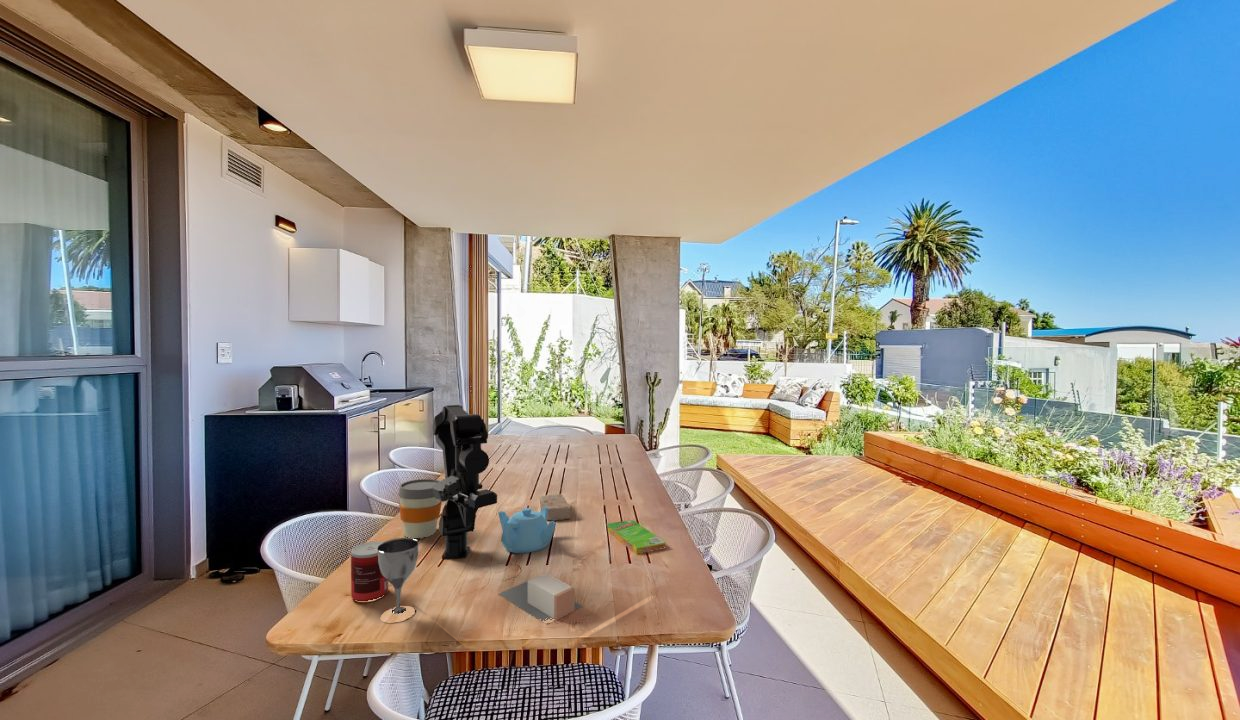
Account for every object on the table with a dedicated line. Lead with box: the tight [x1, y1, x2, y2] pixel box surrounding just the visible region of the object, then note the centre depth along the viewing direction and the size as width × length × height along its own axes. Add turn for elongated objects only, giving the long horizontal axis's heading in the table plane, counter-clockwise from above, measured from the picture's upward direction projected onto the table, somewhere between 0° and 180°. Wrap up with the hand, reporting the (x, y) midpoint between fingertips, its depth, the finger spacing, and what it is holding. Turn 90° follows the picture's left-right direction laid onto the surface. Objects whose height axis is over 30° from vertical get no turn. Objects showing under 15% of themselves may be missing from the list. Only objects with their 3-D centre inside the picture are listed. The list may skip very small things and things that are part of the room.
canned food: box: [350, 540, 389, 601], centre depth 113 cm, size 8×8×11 cm
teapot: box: [498, 507, 557, 555], centre depth 142 cm, size 15×15×11 cm
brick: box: [539, 493, 572, 522], centre depth 170 cm, size 17×8×5 cm, turn 18°
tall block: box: [527, 572, 576, 621], centre depth 107 cm, size 5×5×10 cm
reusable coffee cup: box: [398, 478, 443, 539], centre depth 149 cm, size 12×13×15 cm
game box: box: [606, 519, 667, 555], centre depth 148 cm, size 3×10×20 cm
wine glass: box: [377, 537, 419, 614], centre depth 105 cm, size 8×8×15 cm
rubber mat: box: [498, 580, 584, 622], centre depth 110 cm, size 18×10×1 cm, turn 47°
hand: (467, 526), depth 124 cm, fingers closed
